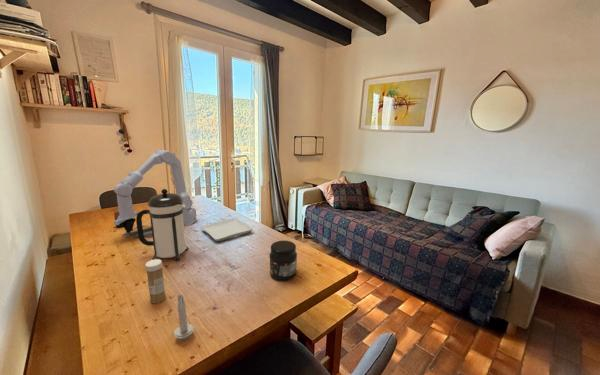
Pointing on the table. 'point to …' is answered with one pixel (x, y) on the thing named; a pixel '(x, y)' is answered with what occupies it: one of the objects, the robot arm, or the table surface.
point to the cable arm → (137, 231)
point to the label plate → (146, 234)
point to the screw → (183, 322)
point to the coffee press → (164, 225)
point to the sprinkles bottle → (155, 280)
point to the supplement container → (283, 260)
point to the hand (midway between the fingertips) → (129, 233)
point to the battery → (116, 214)
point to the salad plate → (226, 229)
